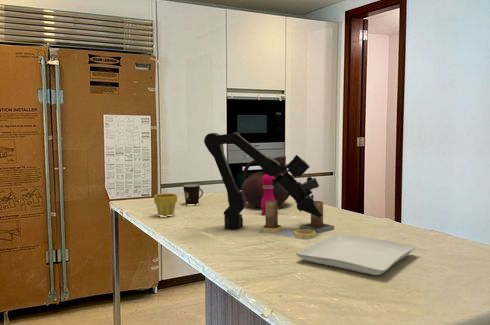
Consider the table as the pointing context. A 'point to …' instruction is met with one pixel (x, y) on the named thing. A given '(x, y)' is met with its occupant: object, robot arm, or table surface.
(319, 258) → the square plate
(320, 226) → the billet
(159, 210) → the plant pot
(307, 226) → the gray square tray
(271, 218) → the cylinder
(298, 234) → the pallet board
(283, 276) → the table surface
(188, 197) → the coffee mug
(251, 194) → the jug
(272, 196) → the pink bowling pin
